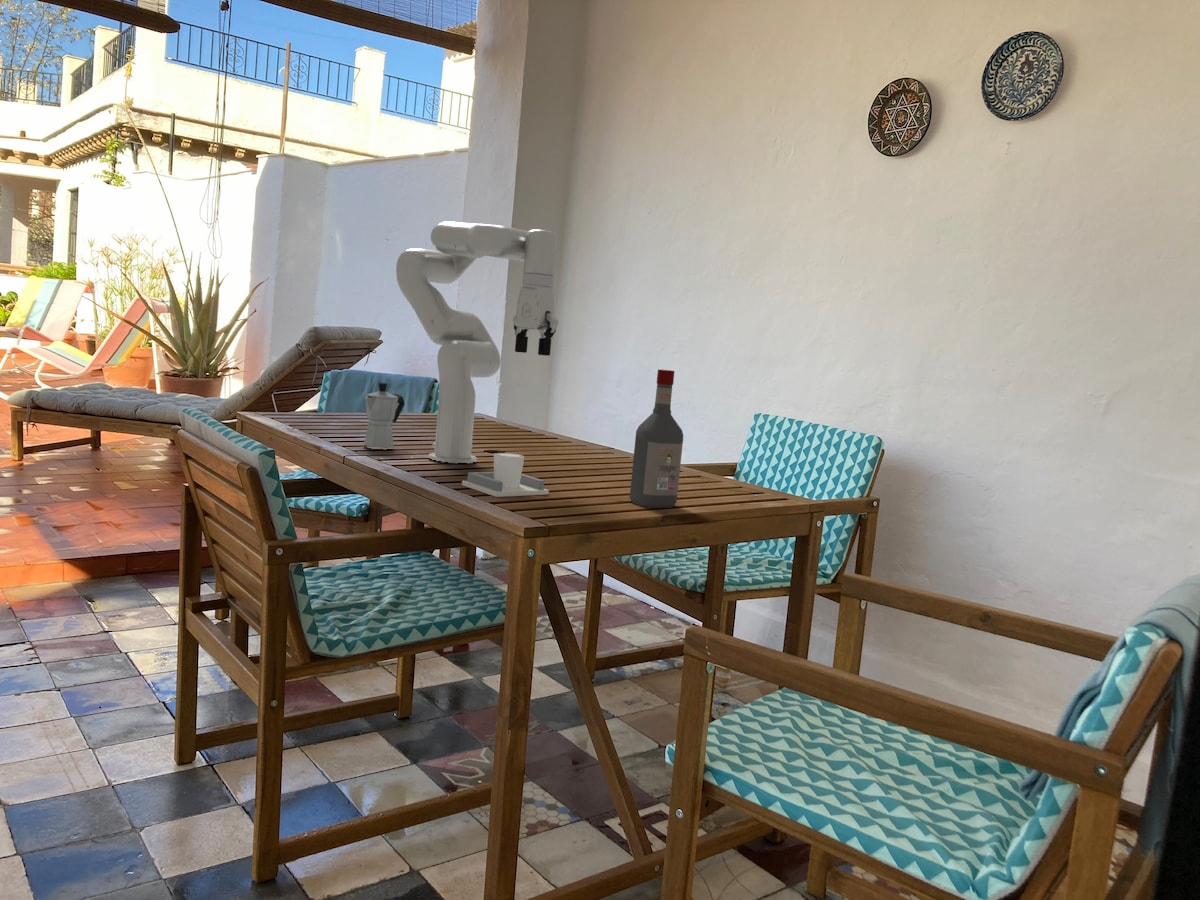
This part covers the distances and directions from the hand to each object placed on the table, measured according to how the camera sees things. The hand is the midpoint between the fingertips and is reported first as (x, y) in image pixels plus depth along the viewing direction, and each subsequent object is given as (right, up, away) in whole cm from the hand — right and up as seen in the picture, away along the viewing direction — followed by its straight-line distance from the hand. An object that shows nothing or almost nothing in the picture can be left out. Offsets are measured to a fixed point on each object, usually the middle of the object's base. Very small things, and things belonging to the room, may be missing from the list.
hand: (532, 353), depth 228 cm
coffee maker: (-44, -23, +31) cm, 59 cm away
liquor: (+28, -36, -18) cm, 49 cm away
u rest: (-5, -32, -17) cm, 37 cm away
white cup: (-4, -32, -18) cm, 36 cm away
